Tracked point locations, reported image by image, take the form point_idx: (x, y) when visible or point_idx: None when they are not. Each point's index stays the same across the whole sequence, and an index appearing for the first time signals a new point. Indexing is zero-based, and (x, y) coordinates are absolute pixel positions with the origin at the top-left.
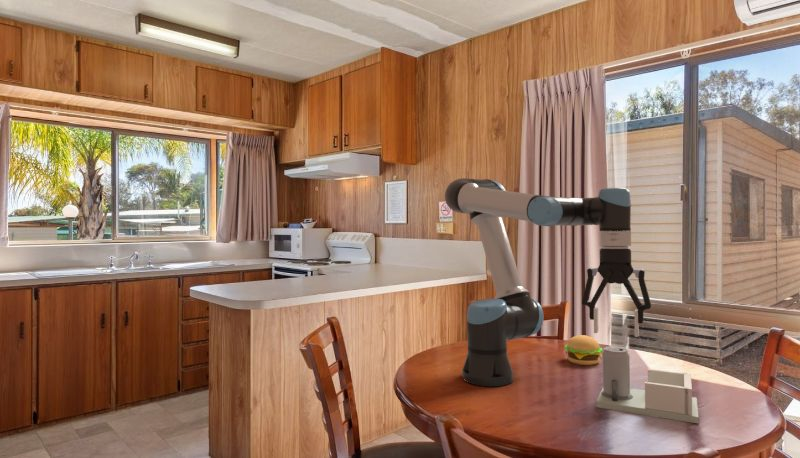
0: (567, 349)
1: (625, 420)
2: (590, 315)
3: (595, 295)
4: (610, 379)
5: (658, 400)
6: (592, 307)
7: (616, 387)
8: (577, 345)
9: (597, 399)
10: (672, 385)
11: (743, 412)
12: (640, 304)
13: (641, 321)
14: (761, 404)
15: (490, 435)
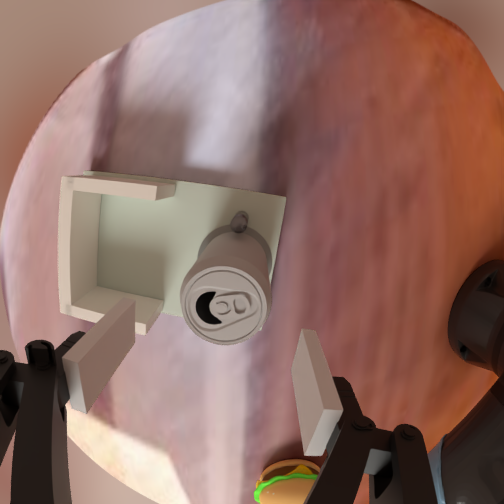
0: None
1: (224, 131)
2: (347, 390)
3: (349, 485)
4: (249, 243)
5: (141, 181)
6: (350, 416)
7: (234, 216)
8: (308, 487)
9: (283, 211)
10: (94, 190)
11: (28, 263)
12: (25, 379)
13: (77, 336)
14: (13, 311)
15: (447, 22)
